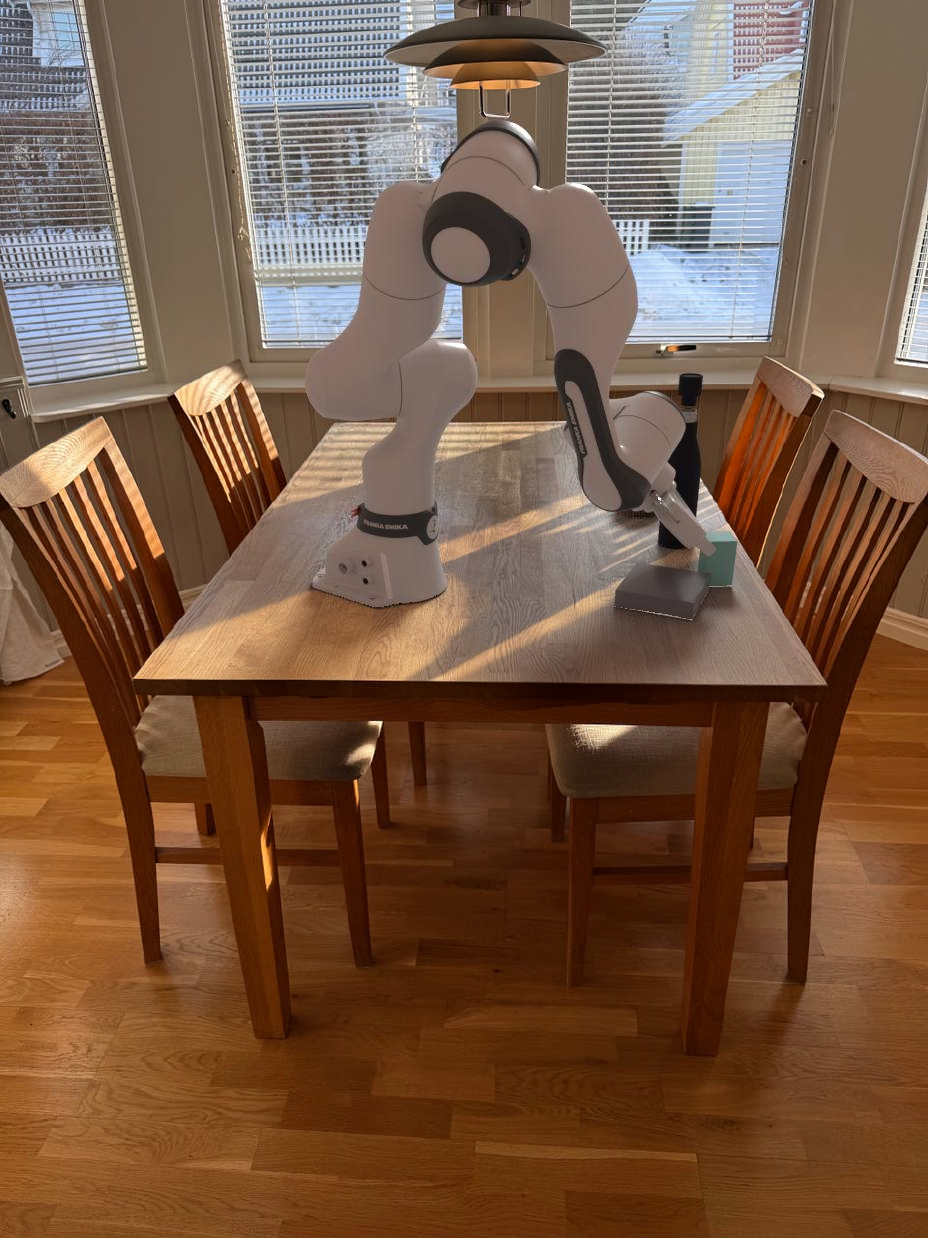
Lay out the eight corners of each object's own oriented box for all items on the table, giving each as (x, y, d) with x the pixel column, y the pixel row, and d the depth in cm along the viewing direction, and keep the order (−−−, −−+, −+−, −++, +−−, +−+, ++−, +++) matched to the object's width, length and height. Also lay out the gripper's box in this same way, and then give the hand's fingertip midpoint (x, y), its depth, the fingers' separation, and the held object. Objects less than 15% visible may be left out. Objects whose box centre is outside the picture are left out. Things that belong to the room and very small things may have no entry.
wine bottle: (667, 550, 155) (683, 379, 141) (651, 538, 160) (664, 372, 147) (700, 546, 156) (718, 377, 143) (682, 534, 162) (698, 370, 148)
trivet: (614, 607, 134) (615, 589, 133) (635, 579, 144) (637, 562, 142) (692, 621, 129) (694, 603, 128) (708, 590, 139) (710, 573, 138)
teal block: (703, 587, 140) (708, 541, 137) (697, 576, 144) (701, 531, 141) (731, 587, 140) (737, 541, 137) (724, 576, 144) (729, 531, 141)
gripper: (675, 488, 123) (737, 551, 127) (650, 451, 142) (704, 507, 146) (642, 518, 125) (704, 579, 129) (621, 479, 144) (676, 533, 148)
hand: (704, 541), depth 138 cm, fingers open, 8 cm apart
